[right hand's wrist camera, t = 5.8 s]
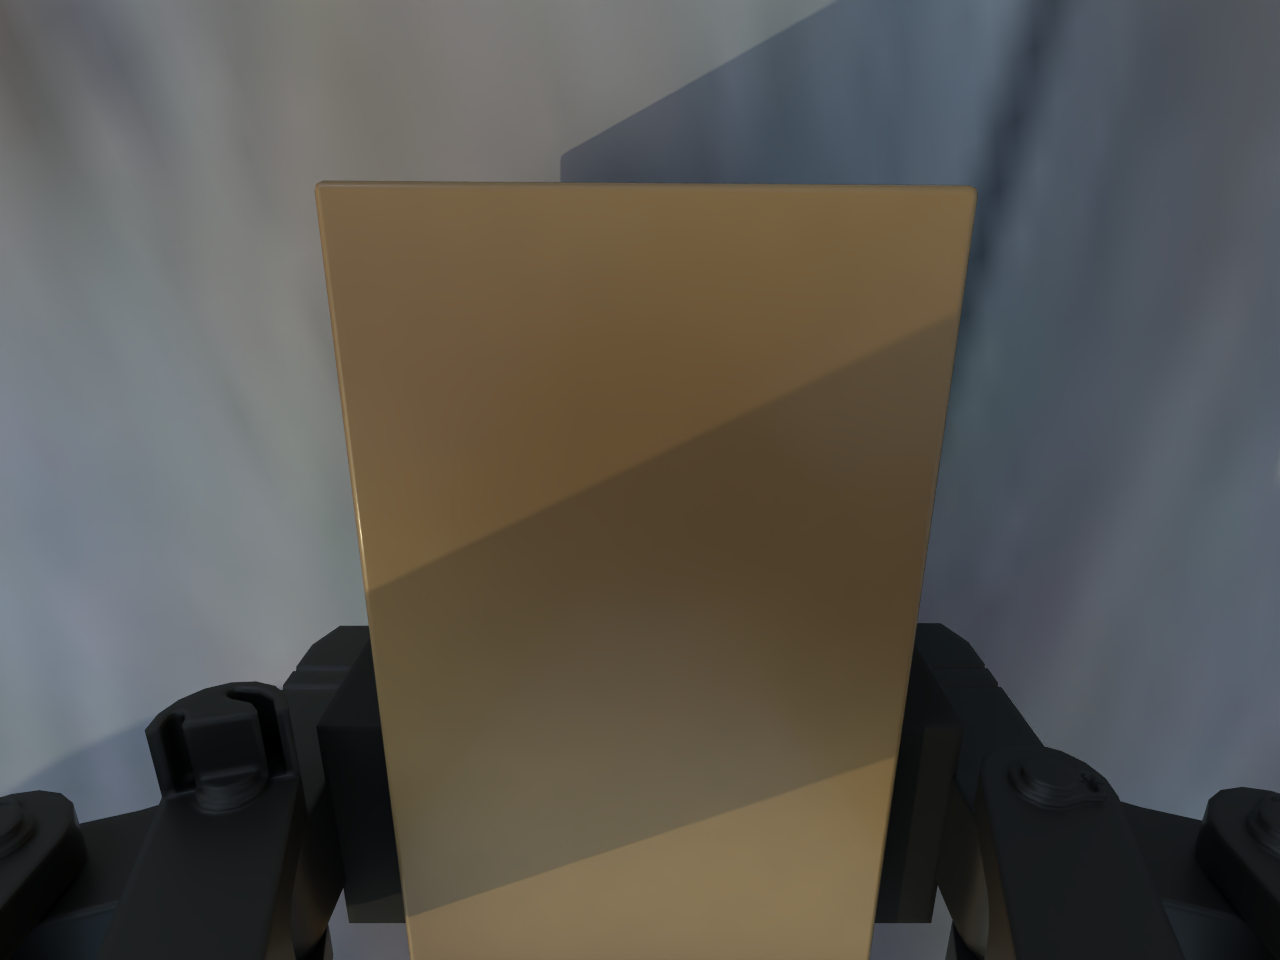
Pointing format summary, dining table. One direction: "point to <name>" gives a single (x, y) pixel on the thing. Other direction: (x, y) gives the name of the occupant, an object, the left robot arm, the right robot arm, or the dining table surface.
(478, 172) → the dining table surface
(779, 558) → the post
